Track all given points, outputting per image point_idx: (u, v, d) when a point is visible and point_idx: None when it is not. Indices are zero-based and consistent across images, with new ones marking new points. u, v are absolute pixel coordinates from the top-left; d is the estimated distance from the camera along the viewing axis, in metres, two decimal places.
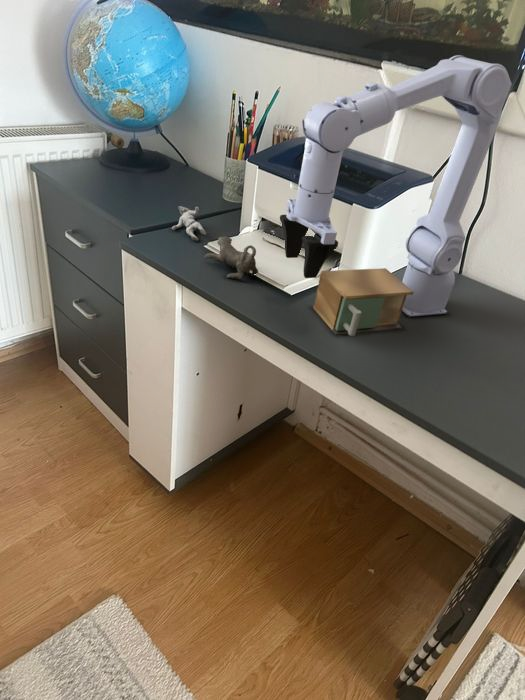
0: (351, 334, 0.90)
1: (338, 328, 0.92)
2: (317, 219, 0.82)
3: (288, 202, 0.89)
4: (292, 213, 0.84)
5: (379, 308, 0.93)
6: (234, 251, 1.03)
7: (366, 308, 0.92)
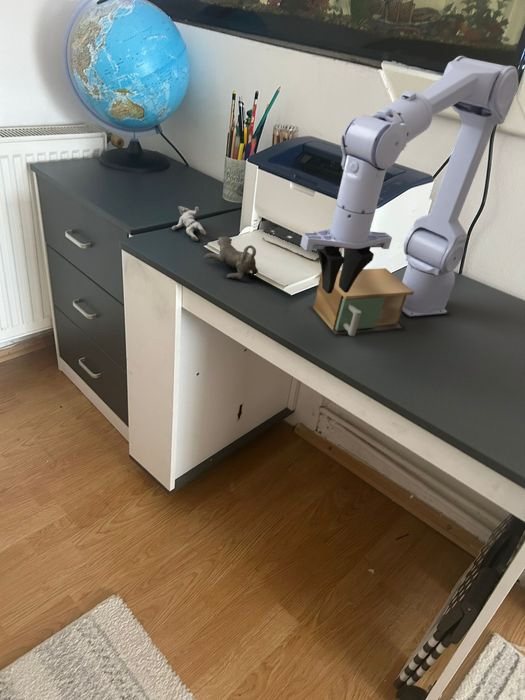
0: (351, 334, 0.90)
1: (338, 328, 0.92)
2: (331, 232, 0.77)
3: (381, 234, 0.82)
4: None
5: (379, 308, 0.93)
6: (234, 251, 1.03)
7: (366, 308, 0.92)
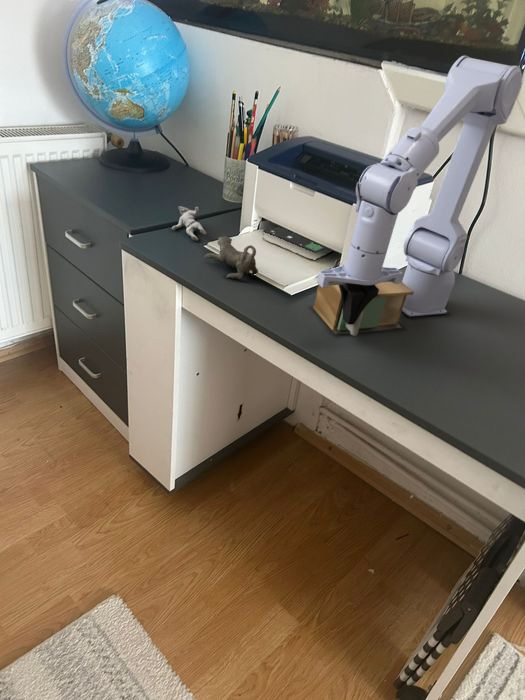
0: (353, 334, 0.90)
1: (340, 328, 0.92)
2: (346, 270, 0.82)
3: (392, 269, 0.87)
4: None
5: (381, 308, 0.93)
6: (234, 251, 1.03)
7: (368, 308, 0.92)
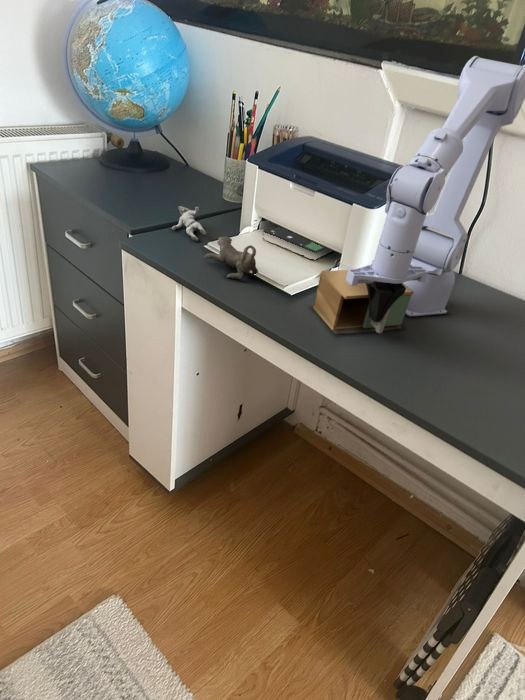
0: (379, 331, 0.92)
1: (365, 325, 0.94)
2: (374, 268, 0.84)
3: (417, 268, 0.89)
4: None
5: (405, 306, 0.95)
6: (234, 251, 1.03)
7: (393, 306, 0.94)
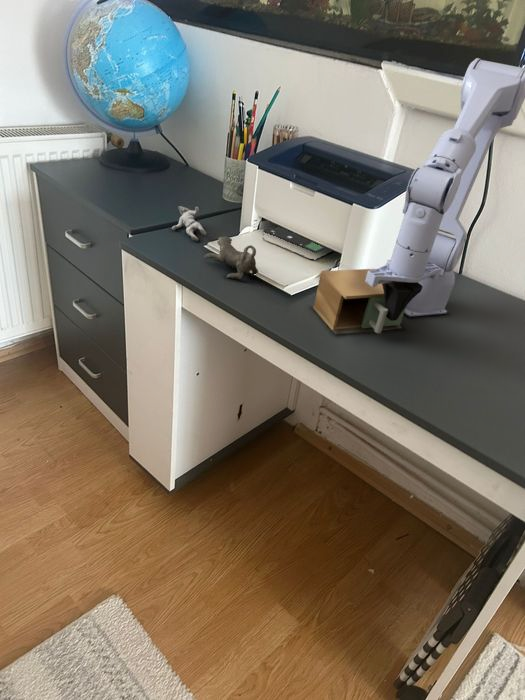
0: (377, 331, 0.92)
1: (364, 326, 0.94)
2: (392, 268, 0.85)
3: None
4: None
5: None
6: (234, 251, 1.03)
7: None
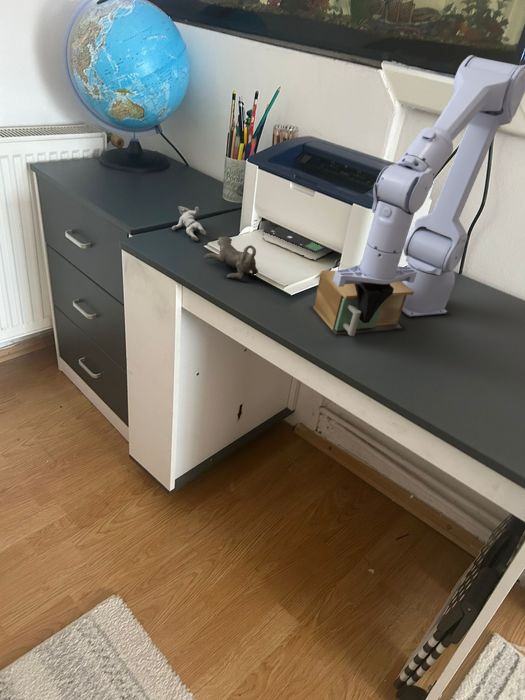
0: (351, 334, 0.90)
1: (338, 328, 0.92)
2: (362, 269, 0.83)
3: None
4: None
5: (379, 308, 0.93)
6: (234, 251, 1.03)
7: None
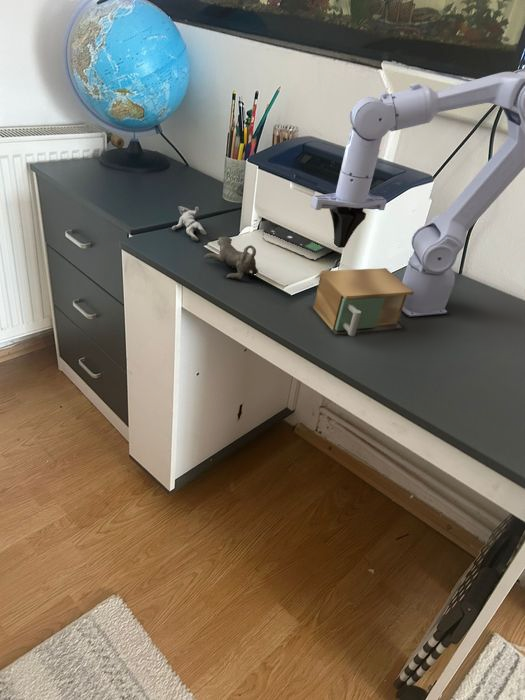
0: (351, 334, 0.90)
1: (338, 328, 0.92)
2: (336, 195, 0.93)
3: (377, 198, 0.98)
4: None
5: (379, 308, 0.93)
6: (234, 251, 1.03)
7: (366, 308, 0.92)
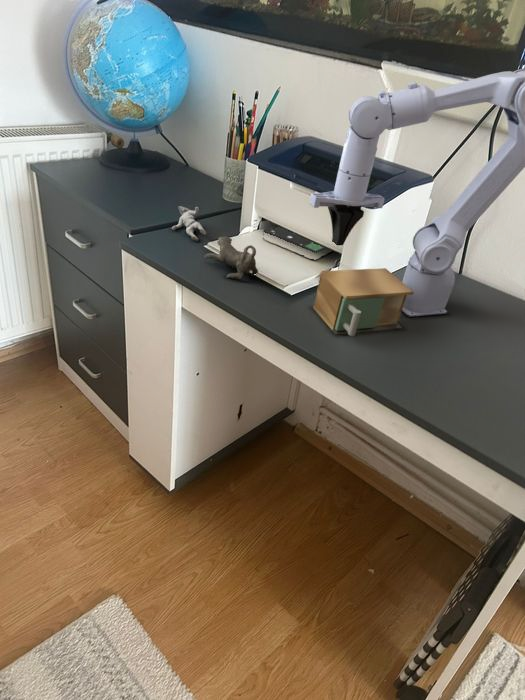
0: (351, 334, 0.90)
1: (338, 328, 0.92)
2: (335, 193, 0.94)
3: None
4: None
5: (379, 308, 0.93)
6: (234, 251, 1.03)
7: (366, 308, 0.92)
